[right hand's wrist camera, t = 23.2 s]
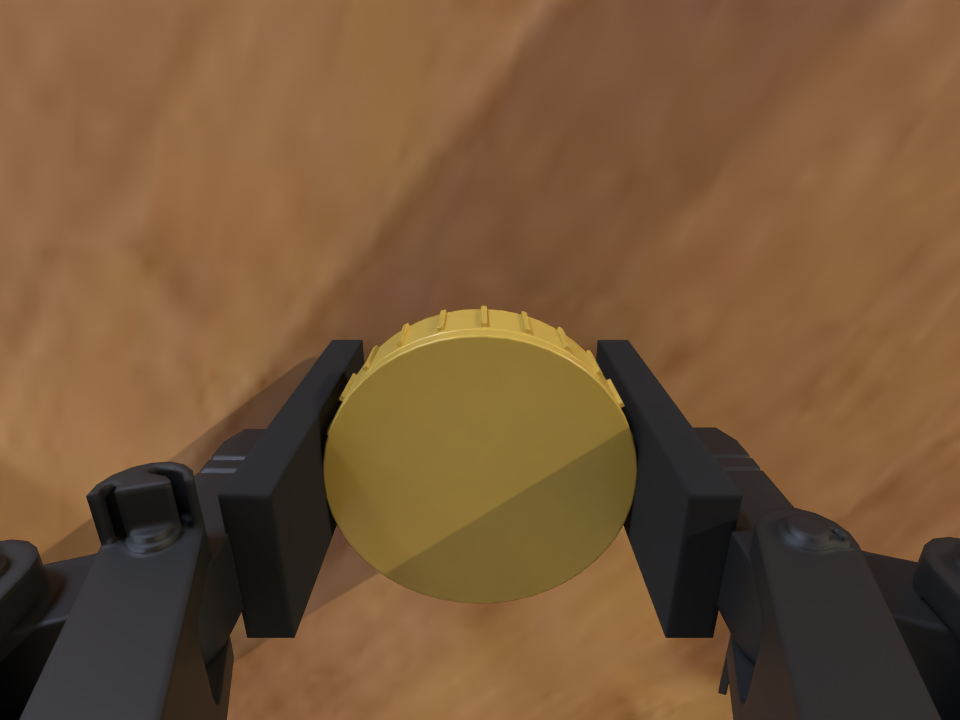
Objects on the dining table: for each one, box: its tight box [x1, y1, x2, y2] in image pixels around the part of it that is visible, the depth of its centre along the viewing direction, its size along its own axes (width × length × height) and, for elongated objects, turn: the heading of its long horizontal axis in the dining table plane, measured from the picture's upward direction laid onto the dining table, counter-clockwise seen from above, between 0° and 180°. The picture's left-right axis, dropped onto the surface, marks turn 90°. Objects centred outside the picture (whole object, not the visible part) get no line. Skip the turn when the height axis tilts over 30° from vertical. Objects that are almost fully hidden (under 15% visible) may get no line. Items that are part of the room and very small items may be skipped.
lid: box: [323, 306, 637, 603], centre depth 11 cm, size 6×6×2 cm
